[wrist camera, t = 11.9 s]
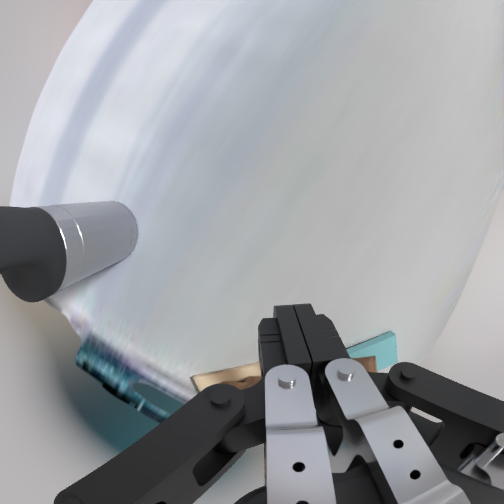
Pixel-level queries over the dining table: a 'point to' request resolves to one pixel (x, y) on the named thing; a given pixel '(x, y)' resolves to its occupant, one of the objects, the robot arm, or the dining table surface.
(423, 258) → the dining table surface
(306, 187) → the dining table surface
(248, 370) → the domino board
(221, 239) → the dining table surface
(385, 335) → the domino
